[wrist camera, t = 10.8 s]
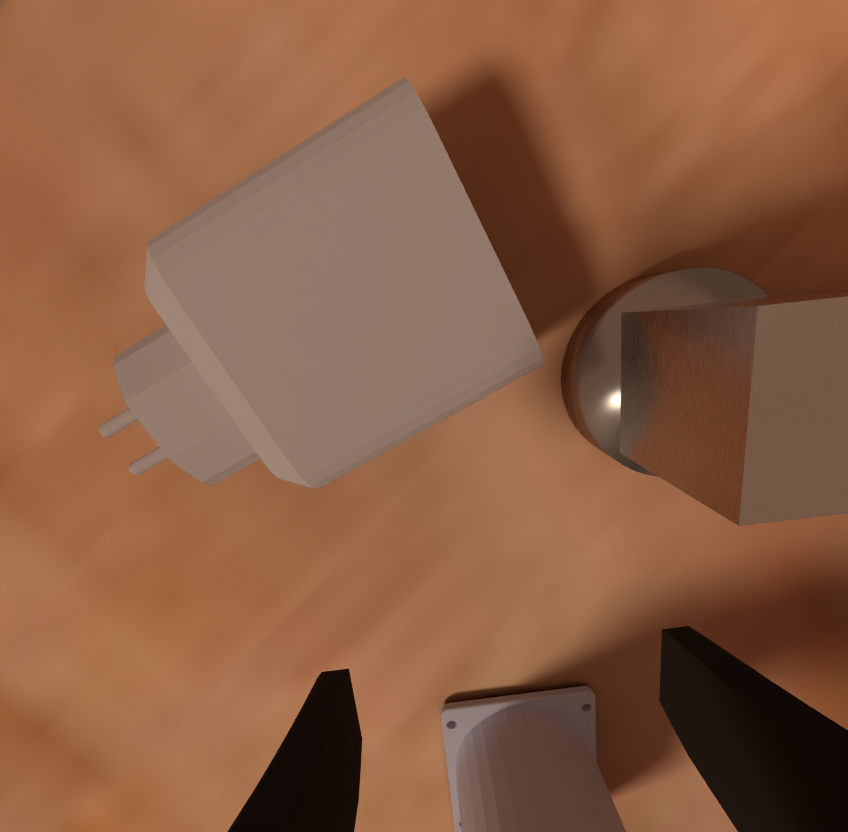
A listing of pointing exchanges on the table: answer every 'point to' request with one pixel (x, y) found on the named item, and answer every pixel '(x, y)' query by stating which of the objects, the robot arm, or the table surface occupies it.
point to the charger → (323, 308)
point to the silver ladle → (601, 346)
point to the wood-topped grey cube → (742, 403)
